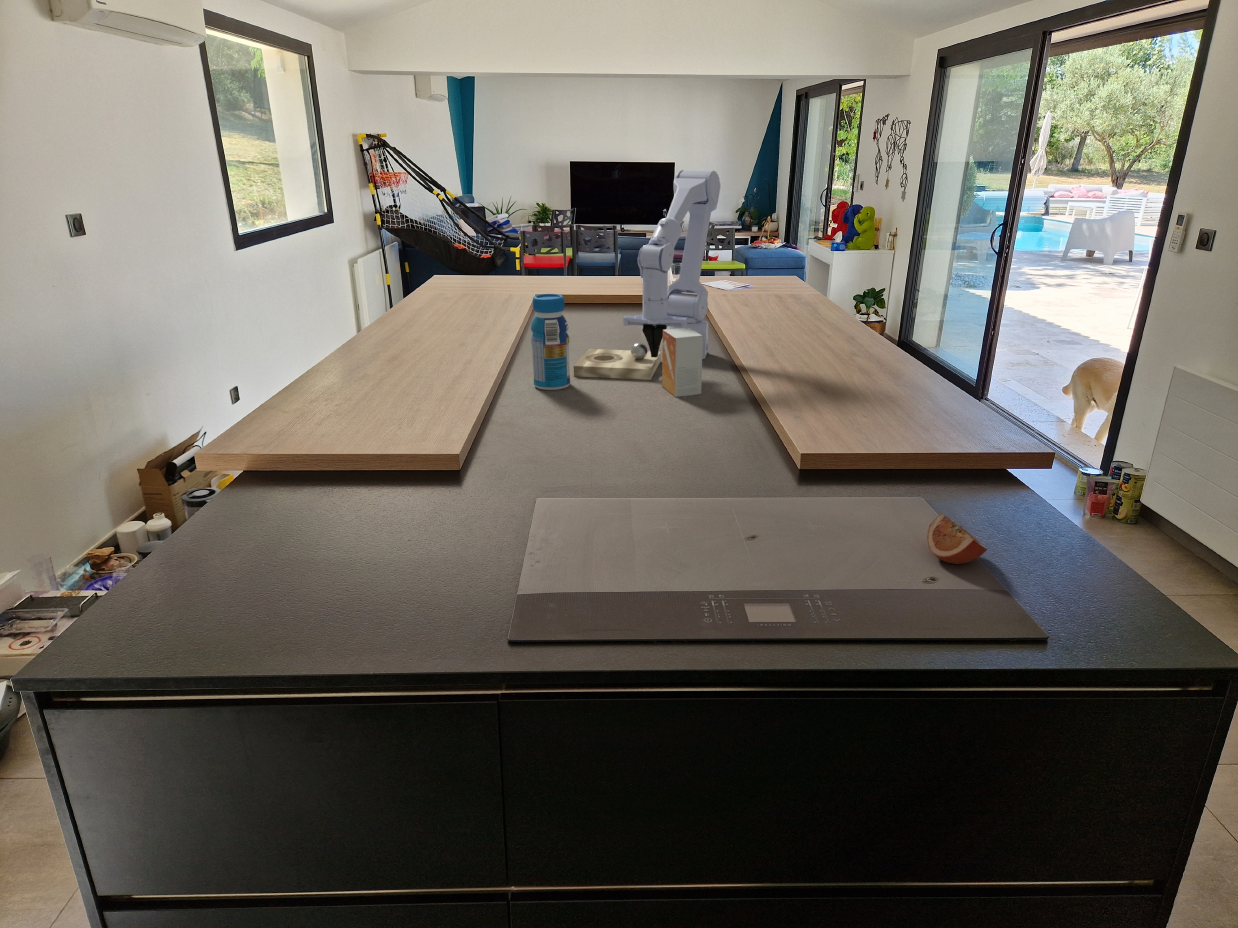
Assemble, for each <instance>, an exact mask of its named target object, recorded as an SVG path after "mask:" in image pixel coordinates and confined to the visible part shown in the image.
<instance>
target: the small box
mask: <svg viewBox="0 0 1238 928" xmlns="http://www.w3.org/2000/svg"><path fill="white" fill-rule="evenodd" d="M702 346H703V336H702V335H701V334H699V333H697V332H696V331H694V330H692V329H690V328H675V329H671V328H666V330H663V338H662V354H661V361H662V367H661V368H662V369H661V371H662V372H661V376H662V377H661V382H662V383H661V386H662V388H664V389H665V390H666V391H667V392H669V393H670V395H673V397H675V398H679V397H687V396H696V395H702V382H703V381H702V377H703V375H702V373H703V370H702V369H703V359H702Z"/></svg>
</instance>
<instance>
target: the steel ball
mask: <svg viewBox="0 0 1238 928" xmlns="http://www.w3.org/2000/svg"><path fill="white" fill-rule="evenodd" d="M630 350H631V355H632V356H633V358H635V359H637V360H641V359H644V358H645V357H646V355H647V353H648V351H649V350H648V347H647V346H646V344H644V343H643V342H636V343H634V344H633V345H632V346H631V347H630Z"/></svg>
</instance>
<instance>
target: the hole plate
mask: <svg viewBox="0 0 1238 928" xmlns="http://www.w3.org/2000/svg"><path fill="white" fill-rule="evenodd" d="M661 361H662V351H659V352H658V357H651V352H650V350H648V353H647V355H646V357H645V358H644V359H641V360H637V359H635V358H633V356H632V355H631V349H629V350H627V349H605V348H604V349H603V348H602V349H601V348H589V349H588V350H586V352H585V353H584V354H583V355H582V356H581V357H580V358H579V359H578V360H577V362H576V363H574V365H573V377H581V378H585V377H586V378H599V377H601V378H602V379H603V378H604V379H622V380H623V379H624V380H644V381H645V380H646V381H647V380H649V381H651V380H652V378H653V376H654V374H655V373H656V371H657V369H658V367H659V365H660V363H661Z"/></svg>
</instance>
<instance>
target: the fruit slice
mask: <svg viewBox="0 0 1238 928" xmlns="http://www.w3.org/2000/svg"><path fill="white" fill-rule="evenodd" d="M926 537H927V538H926V539H927V545H928V549H929V551H930V552H931V553H932V554H933V555H934V556H935V557H936V558H938V559H939V560H941V561H942V562H945V563H949V564H956V565H959V564H960V565H961V564H965V563H969V562H971V561H972V562H973V561H974V560H976V559H979V558H980V557H981V556H983V554H985V553H986V552H987V550H988V548H987V547H986V546H984V545H983V543H981V542H980V541H979V540H978V539H976V538H975V537H974V536H973V535H972V534H971V533H969V532H968V531H967V530H966V529H965V528H963V525H959V524H958V523H956V522H955V521H954V520H952V519H951V518H949V517H948V516H947V515H945V514H944V513H943V512H940V513H939V514H938V516H936V518H935V519H933V521H932V522H931V523H930V524H929V525H928V530H927V535H926Z"/></svg>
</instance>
